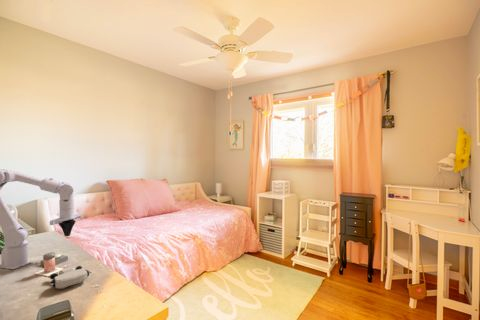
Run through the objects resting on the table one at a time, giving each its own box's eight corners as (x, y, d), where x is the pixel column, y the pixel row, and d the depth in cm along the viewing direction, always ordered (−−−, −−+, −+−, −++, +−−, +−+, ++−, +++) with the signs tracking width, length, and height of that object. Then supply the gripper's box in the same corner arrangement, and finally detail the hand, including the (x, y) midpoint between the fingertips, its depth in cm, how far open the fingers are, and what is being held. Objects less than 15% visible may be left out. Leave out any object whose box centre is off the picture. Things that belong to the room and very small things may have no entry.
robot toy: (46, 283, 90) (52, 296, 79) (45, 272, 90) (51, 282, 80) (83, 272, 99) (92, 282, 88) (82, 261, 99) (92, 270, 89)
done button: (44, 263, 105) (44, 257, 105) (56, 258, 110) (56, 252, 110) (52, 264, 103) (52, 258, 103) (64, 259, 108) (64, 253, 108)
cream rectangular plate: (34, 274, 96) (34, 273, 96) (51, 267, 102) (51, 266, 102) (48, 276, 93) (48, 275, 93) (64, 269, 99) (64, 268, 99)
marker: (41, 271, 97) (41, 255, 96) (52, 267, 100) (51, 251, 100) (47, 273, 95) (46, 257, 95) (57, 269, 99) (56, 253, 98)
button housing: (40, 264, 104) (40, 260, 104) (57, 258, 111) (57, 254, 111) (51, 266, 102) (51, 262, 102) (67, 260, 109) (67, 255, 109)
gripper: (57, 212, 106) (57, 241, 106) (86, 205, 120) (87, 231, 120) (46, 211, 108) (46, 240, 108) (76, 205, 122) (77, 230, 122)
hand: (67, 235), depth 114 cm, fingers closed
